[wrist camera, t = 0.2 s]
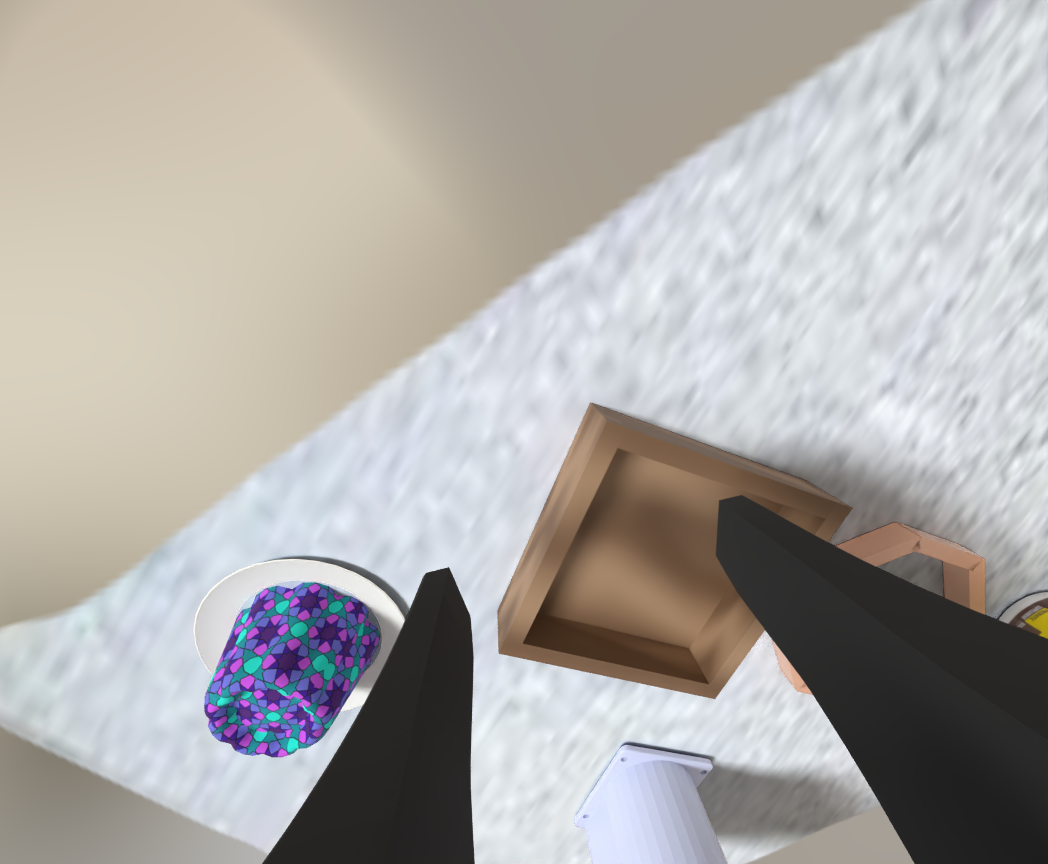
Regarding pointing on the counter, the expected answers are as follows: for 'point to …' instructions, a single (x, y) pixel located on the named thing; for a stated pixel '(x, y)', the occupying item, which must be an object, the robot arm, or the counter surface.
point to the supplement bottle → (1029, 614)
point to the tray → (645, 558)
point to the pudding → (289, 652)
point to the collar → (899, 540)
